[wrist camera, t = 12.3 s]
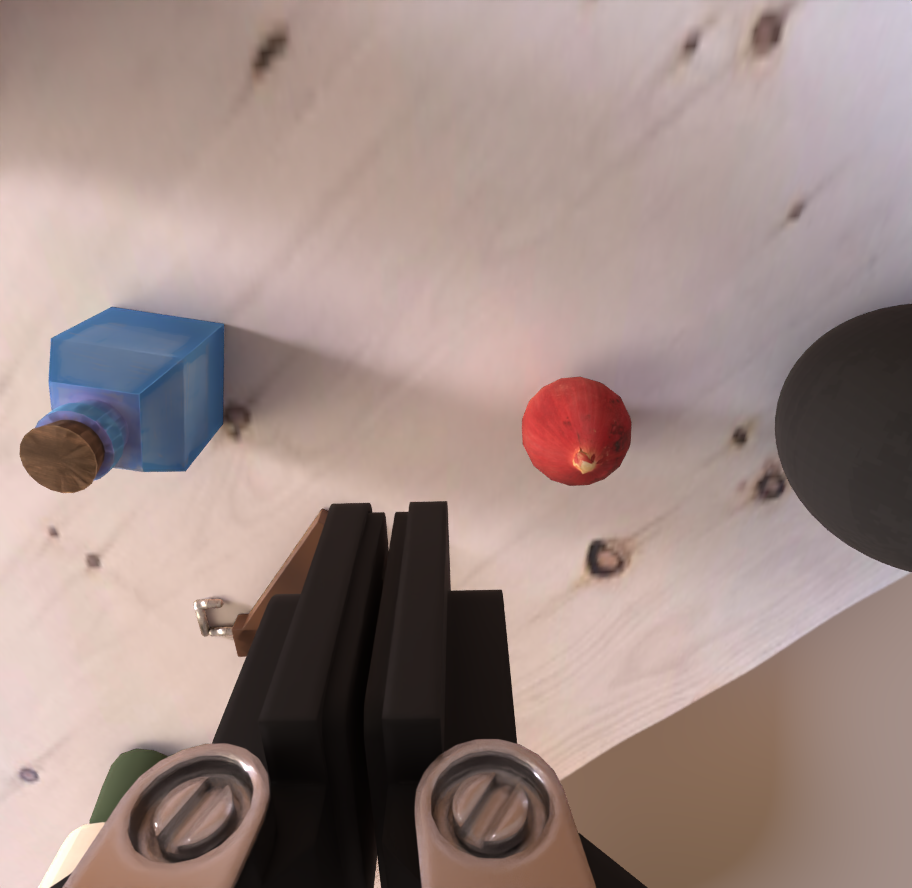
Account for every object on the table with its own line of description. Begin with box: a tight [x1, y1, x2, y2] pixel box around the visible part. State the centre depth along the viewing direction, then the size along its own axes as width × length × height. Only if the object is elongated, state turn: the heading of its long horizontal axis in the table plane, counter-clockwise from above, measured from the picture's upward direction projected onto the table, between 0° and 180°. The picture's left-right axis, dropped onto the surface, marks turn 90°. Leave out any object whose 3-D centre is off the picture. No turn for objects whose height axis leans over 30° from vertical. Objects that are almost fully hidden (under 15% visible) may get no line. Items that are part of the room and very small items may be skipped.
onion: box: [522, 377, 632, 486], centre depth 36 cm, size 6×6×8 cm
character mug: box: [38, 749, 168, 888], centre depth 47 cm, size 11×7×13 cm, turn 114°
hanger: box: [194, 509, 328, 657], centre depth 46 cm, size 11×18×2 cm, turn 3°
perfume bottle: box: [20, 307, 224, 493], centre depth 34 cm, size 6×6×12 cm
